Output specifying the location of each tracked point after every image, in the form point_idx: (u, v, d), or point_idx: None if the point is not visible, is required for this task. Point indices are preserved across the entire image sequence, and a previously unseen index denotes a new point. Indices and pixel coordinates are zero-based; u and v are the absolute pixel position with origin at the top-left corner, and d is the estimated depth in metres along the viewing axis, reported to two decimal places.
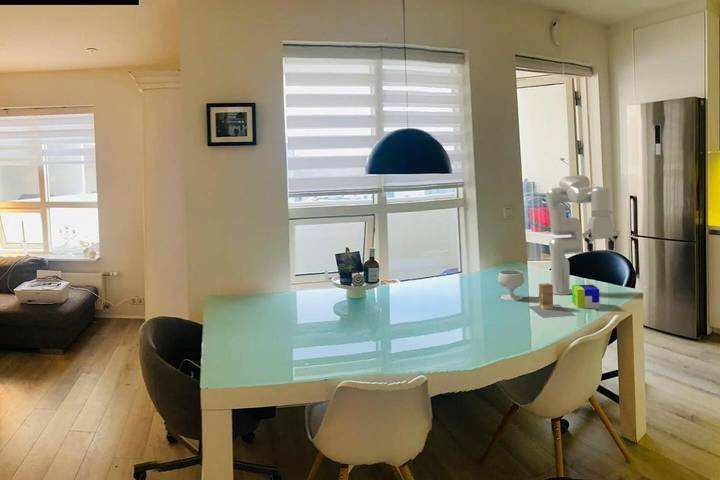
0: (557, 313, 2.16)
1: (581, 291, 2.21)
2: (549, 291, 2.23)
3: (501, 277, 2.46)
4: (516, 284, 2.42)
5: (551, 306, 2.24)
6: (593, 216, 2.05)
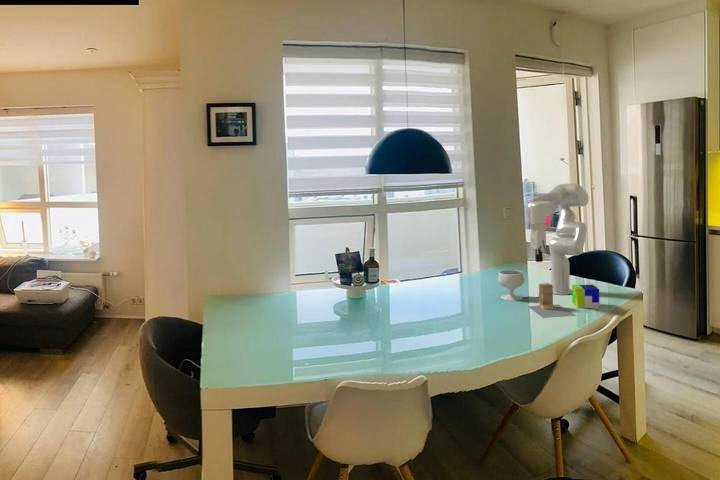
0: (557, 313, 2.16)
1: (581, 291, 2.21)
2: (549, 291, 2.23)
3: (501, 277, 2.46)
4: (516, 284, 2.42)
5: (551, 306, 2.24)
6: (542, 228, 2.26)
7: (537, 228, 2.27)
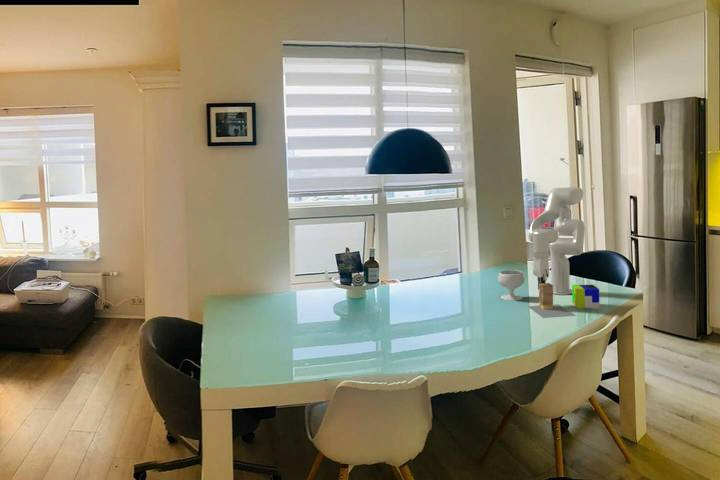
0: (557, 313, 2.16)
1: (581, 291, 2.21)
2: (549, 291, 2.23)
3: (501, 277, 2.46)
4: (516, 284, 2.42)
5: (551, 306, 2.24)
6: (545, 257, 2.25)
7: (540, 257, 2.25)
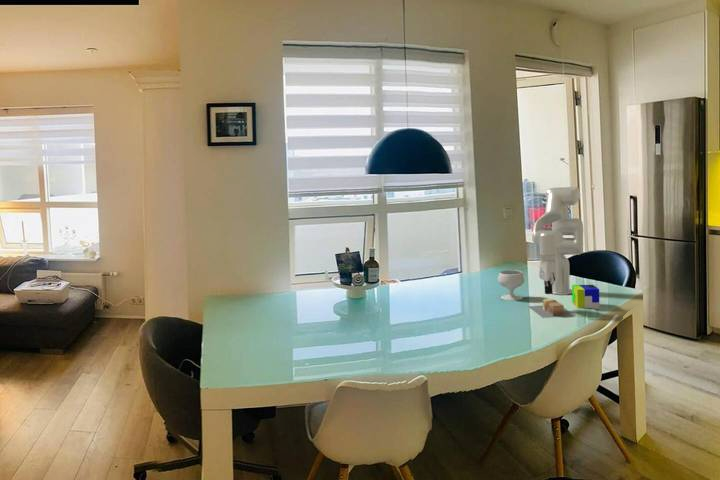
0: None
1: (581, 291, 2.21)
2: None
3: (501, 277, 2.46)
4: (516, 284, 2.42)
5: None
6: (552, 260, 2.17)
7: (547, 259, 2.17)
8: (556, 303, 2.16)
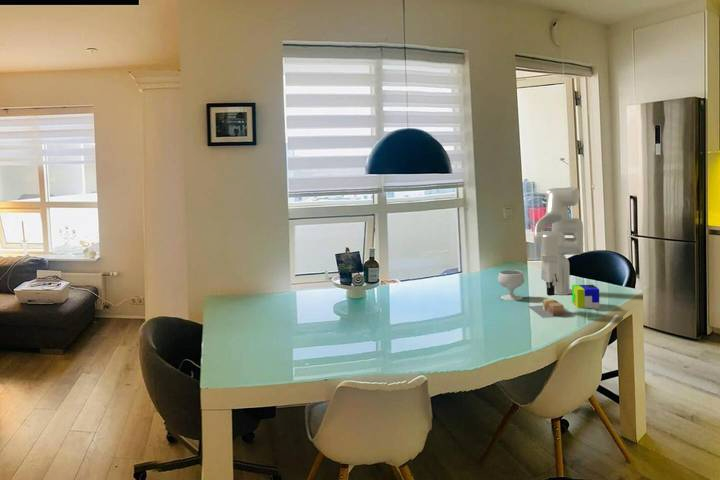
0: None
1: (581, 291, 2.21)
2: None
3: (501, 277, 2.46)
4: (516, 284, 2.42)
5: None
6: (554, 261, 2.14)
7: (549, 261, 2.15)
8: (556, 303, 2.16)
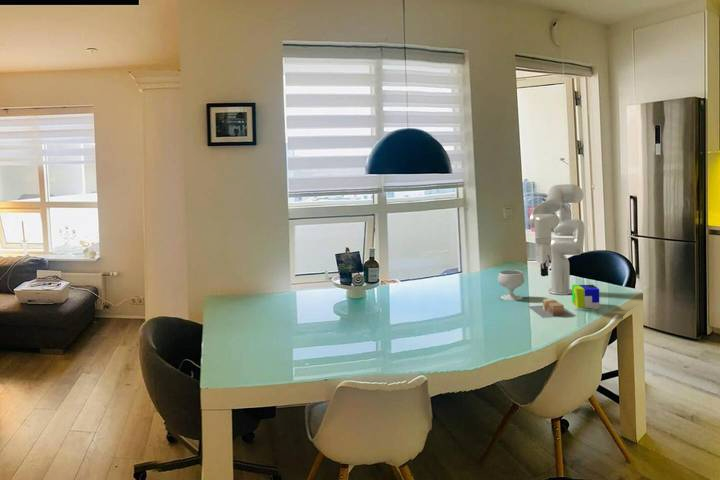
0: None
1: (581, 291, 2.21)
2: None
3: (501, 277, 2.46)
4: (516, 284, 2.42)
5: None
6: (547, 243, 2.21)
7: (542, 242, 2.22)
8: (556, 303, 2.16)
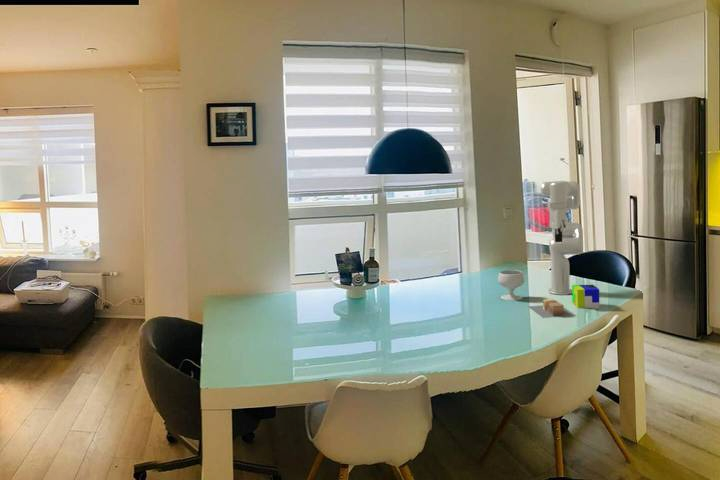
0: None
1: (581, 291, 2.21)
2: None
3: (501, 277, 2.46)
4: (516, 284, 2.42)
5: None
6: (562, 208, 2.24)
7: (557, 207, 2.24)
8: (556, 303, 2.16)
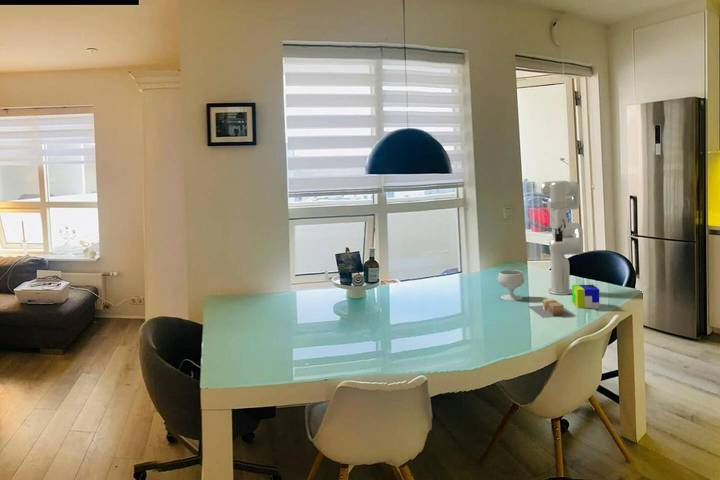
0: None
1: (581, 291, 2.21)
2: None
3: (501, 277, 2.46)
4: (516, 284, 2.42)
5: None
6: (562, 207, 2.24)
7: (557, 207, 2.24)
8: (556, 303, 2.16)
